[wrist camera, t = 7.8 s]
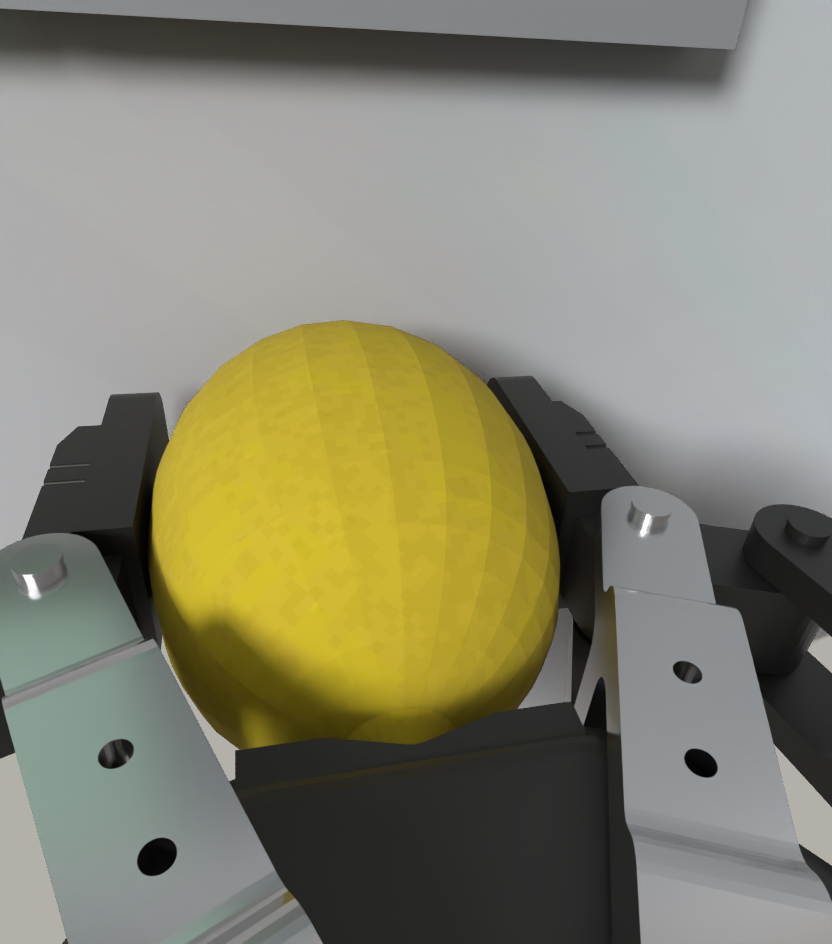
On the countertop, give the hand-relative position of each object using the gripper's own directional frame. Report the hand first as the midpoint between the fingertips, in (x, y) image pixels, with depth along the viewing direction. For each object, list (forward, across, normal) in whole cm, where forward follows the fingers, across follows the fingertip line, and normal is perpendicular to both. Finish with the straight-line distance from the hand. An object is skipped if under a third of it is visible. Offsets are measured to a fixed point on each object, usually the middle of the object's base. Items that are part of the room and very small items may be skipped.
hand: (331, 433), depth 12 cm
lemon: (+2, 0, 0) cm, 2 cm away
